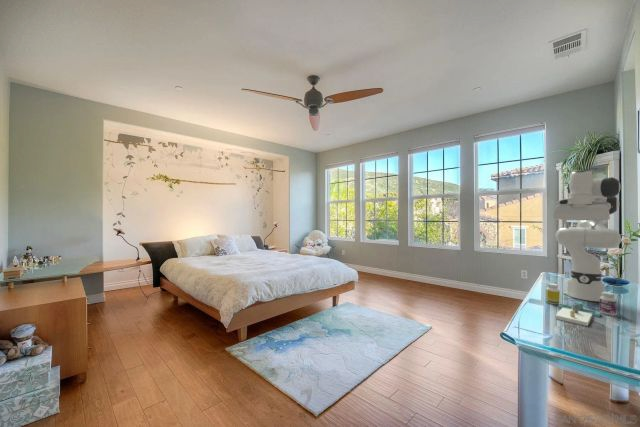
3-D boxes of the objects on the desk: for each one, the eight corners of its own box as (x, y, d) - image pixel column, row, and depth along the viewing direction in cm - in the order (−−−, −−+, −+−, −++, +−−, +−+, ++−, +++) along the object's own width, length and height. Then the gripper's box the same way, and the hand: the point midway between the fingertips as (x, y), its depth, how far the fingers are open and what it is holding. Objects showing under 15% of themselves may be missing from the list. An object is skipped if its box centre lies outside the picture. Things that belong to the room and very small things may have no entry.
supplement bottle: (562, 305, 135) (562, 285, 135) (549, 304, 136) (550, 285, 136) (555, 301, 141) (555, 283, 141) (543, 300, 142) (543, 282, 142)
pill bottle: (599, 313, 124) (600, 292, 124) (598, 310, 128) (599, 290, 128) (617, 316, 120) (617, 295, 120) (615, 313, 124) (615, 293, 124)
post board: (562, 310, 127) (562, 300, 127) (592, 317, 119) (592, 305, 119) (555, 318, 117) (555, 307, 117) (587, 326, 109) (587, 314, 109)
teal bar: (558, 308, 130) (558, 299, 130) (560, 306, 133) (560, 297, 133) (599, 317, 119) (599, 307, 119) (600, 314, 123) (600, 305, 123)
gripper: (611, 202, 128) (610, 230, 128) (555, 203, 144) (554, 228, 143) (610, 200, 124) (609, 229, 124) (553, 201, 140) (552, 227, 139)
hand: (579, 229), depth 134 cm, fingers open, 8 cm apart
